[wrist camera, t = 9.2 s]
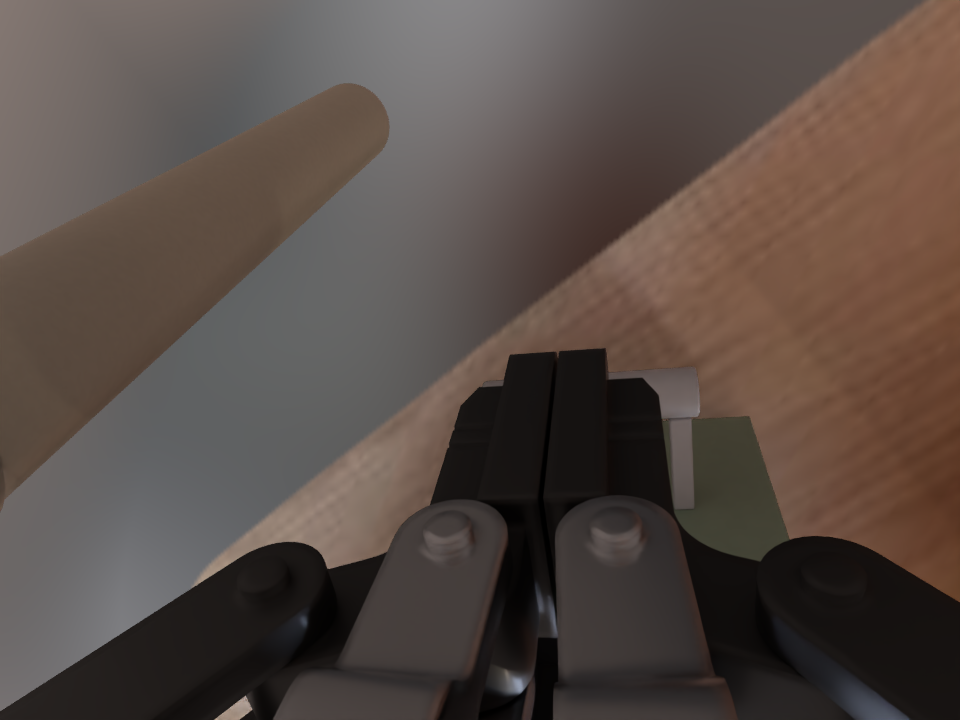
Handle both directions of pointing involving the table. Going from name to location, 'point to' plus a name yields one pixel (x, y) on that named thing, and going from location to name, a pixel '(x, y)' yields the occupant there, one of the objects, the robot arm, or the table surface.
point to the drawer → (696, 490)
